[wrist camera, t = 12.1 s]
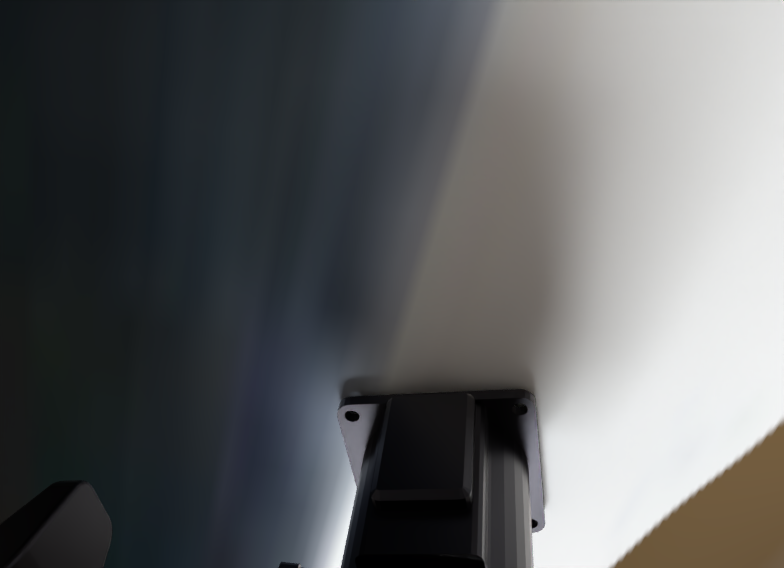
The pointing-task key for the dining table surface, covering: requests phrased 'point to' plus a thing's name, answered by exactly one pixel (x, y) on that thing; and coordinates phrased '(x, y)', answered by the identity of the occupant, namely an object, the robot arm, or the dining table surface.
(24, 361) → the dining table surface
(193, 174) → the dining table surface
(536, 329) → the dining table surface
